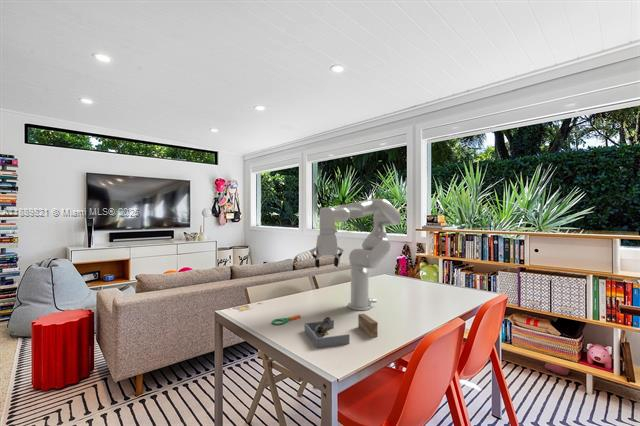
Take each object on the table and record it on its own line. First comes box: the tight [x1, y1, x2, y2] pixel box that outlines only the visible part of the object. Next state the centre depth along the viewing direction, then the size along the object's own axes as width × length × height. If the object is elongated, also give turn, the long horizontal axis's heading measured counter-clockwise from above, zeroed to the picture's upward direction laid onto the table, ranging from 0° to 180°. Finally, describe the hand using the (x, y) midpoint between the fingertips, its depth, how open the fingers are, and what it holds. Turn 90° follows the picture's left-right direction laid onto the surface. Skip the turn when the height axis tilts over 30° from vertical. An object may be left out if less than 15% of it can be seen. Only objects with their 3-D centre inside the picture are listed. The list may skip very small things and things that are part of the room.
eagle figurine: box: [314, 316, 332, 338], centre depth 131 cm, size 8×7×9 cm
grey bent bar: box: [304, 319, 350, 349], centre depth 128 cm, size 13×18×4 cm
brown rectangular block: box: [357, 313, 379, 338], centre depth 134 cm, size 3×12×6 cm, turn 19°
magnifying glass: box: [271, 314, 302, 326], centre depth 147 cm, size 15×6×2 cm, turn 129°
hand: (326, 266), depth 154 cm, fingers open, 9 cm apart
